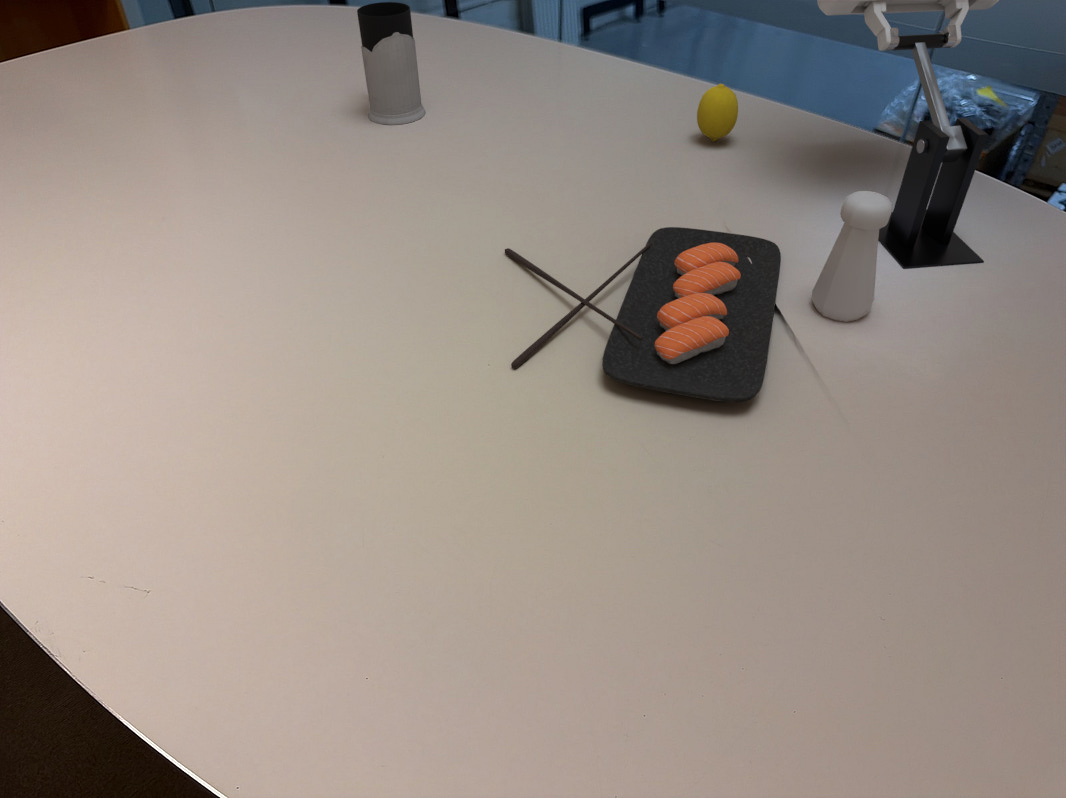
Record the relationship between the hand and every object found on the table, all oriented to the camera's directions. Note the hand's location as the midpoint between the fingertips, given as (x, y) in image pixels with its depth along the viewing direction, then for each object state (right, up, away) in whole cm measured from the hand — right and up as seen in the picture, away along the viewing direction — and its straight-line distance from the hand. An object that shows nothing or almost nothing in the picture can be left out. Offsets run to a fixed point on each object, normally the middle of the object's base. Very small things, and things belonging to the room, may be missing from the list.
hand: (919, 46), depth 87 cm
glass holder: (-64, +7, +39) cm, 76 cm away
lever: (+1, -6, 0) cm, 6 cm away
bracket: (+2, -21, +4) cm, 21 cm away
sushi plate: (-32, -28, -3) cm, 43 cm away
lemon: (-16, -2, +28) cm, 32 cm away
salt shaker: (-11, -30, -6) cm, 32 cm away
